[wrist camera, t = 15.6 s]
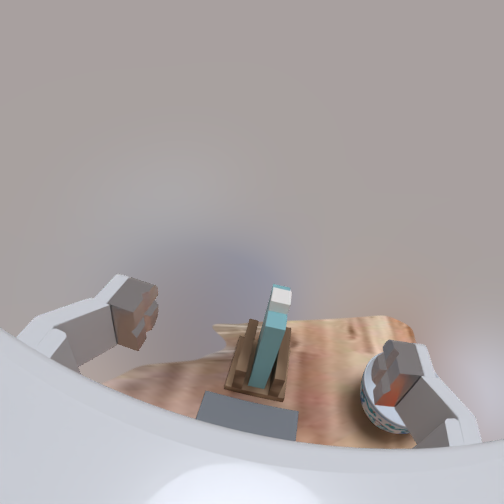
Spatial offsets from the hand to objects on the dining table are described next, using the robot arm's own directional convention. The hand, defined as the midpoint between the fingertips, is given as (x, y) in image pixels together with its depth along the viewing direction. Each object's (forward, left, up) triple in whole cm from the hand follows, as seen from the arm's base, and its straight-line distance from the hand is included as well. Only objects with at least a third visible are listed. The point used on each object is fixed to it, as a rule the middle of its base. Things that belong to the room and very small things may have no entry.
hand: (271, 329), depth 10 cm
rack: (+2, +24, -32) cm, 40 cm away
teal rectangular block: (+2, +24, -31) cm, 39 cm away
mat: (+2, +11, -32) cm, 34 cm away
